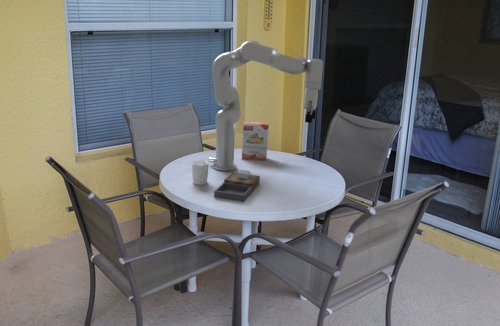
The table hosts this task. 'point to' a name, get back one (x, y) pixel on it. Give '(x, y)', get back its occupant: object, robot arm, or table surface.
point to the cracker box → (255, 140)
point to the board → (243, 180)
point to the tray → (233, 192)
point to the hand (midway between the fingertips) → (310, 120)
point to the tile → (243, 174)
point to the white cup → (200, 172)
